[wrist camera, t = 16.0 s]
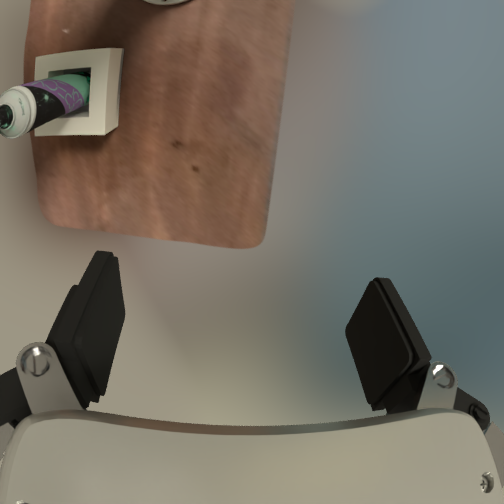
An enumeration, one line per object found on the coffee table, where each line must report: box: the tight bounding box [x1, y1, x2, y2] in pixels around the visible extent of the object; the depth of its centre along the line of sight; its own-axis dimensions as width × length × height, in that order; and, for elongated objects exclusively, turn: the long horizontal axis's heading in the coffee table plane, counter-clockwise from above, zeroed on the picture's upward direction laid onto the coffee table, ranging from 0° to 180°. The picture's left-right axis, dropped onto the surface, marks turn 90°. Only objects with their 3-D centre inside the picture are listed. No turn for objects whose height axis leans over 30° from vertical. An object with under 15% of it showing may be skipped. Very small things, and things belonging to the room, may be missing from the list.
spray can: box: [0, 71, 91, 139], centre depth 26 cm, size 6×6×20 cm
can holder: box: [34, 48, 124, 136], centre depth 33 cm, size 12×12×6 cm
